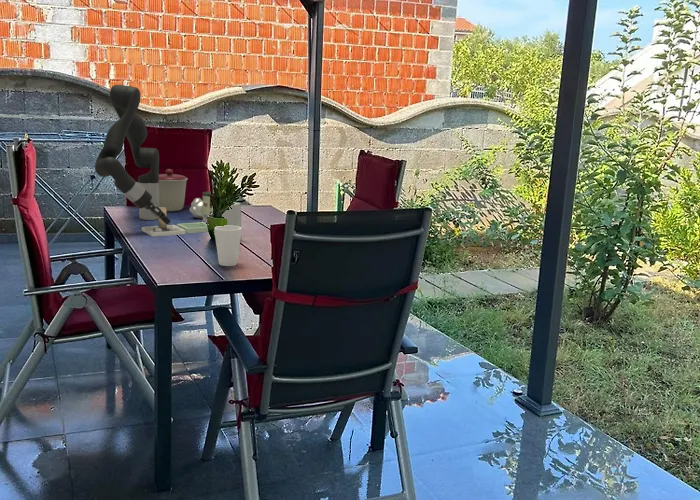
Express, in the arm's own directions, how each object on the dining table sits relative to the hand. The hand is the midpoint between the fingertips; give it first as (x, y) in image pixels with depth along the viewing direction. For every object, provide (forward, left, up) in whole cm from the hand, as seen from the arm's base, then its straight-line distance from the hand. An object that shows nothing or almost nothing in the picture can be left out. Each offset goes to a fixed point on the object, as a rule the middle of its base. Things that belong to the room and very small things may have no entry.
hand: (167, 221), depth 279 cm
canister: (-58, +21, -5) cm, 62 cm away
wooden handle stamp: (0, -2, -4) cm, 5 cm away
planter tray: (+1, +12, -5) cm, 13 cm away
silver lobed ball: (-30, +26, -5) cm, 40 cm away
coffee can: (-18, +28, -5) cm, 34 cm away
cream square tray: (+1, -2, -5) cm, 6 cm away
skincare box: (+22, +18, -5) cm, 29 cm away
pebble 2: (+5, +1, -3) cm, 6 cm away
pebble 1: (+5, -6, -3) cm, 8 cm away
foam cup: (+59, +1, -5) cm, 59 cm away
